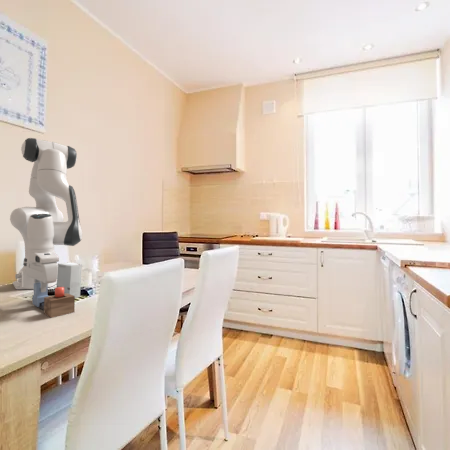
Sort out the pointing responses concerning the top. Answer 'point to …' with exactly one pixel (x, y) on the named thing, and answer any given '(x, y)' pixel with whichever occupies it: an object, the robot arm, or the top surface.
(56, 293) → the button
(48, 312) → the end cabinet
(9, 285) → the top surface
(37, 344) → the top surface
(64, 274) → the skincare box
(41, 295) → the light blue stepped block
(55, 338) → the top surface
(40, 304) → the rail
